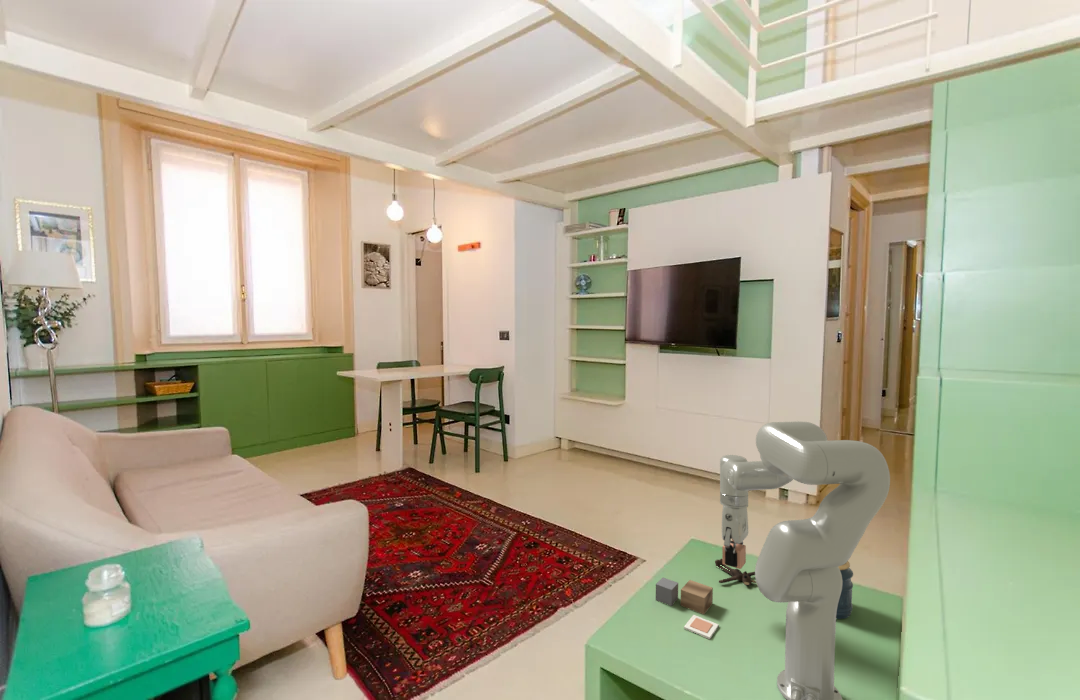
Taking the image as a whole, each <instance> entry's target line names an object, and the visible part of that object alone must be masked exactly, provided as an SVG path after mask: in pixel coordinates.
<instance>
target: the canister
mask: <svg viewBox="0 0 1080 700" xmlns="http://www.w3.org/2000/svg"><path fill="white" fill-rule="evenodd" d="M838 567H839V569H840V572H841V575H842V591H841V595H840V599H839V602H838V606H837V613H836V620H842V619H847V618H850V617H851V616H852V615H851V614H852V612H853V607H854V606H853V588H854V584H853V581H852V578H853V576H854V572H853V570H852V568H850V567H851V563H850V562H849V560H848V561H847V562H846V563H845V564H844V565H841V566H838Z"/></svg>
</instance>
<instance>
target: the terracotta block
mask: <svg viewBox="0 0 1080 700" xmlns="http://www.w3.org/2000/svg"><path fill="white" fill-rule="evenodd" d="M730 544H731V545H732V546H733V543H730ZM746 548H747V547H746V545H745V544H743V545H742V544H737V545H736V553H737V567H733V566H729V565H726V564H725V546H724V545H723V546H722V548H721V549H722V553H721V554H722V558H721V559H722V564H724V565H726V566H728V567H730V568H732V567H733V568H734V569H739V570H741V569H742V568H743V567H744V566H745V565H746V560H747V559H746V557H747V555H746V553H747V549H746Z"/></svg>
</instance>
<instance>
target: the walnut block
mask: <svg viewBox="0 0 1080 700" xmlns="http://www.w3.org/2000/svg"><path fill="white" fill-rule="evenodd" d="M713 588H714V587H712V586H709V585H706V584H703V583H700V582H697V581H696V580H695V581H694V580H691V579H688V581H687V582H686V583H685V584H684V586H683V587H682V588H680V606H681V607H683V608H686V609H688V608H689V610H691V611H693V610H694V612H697V613H700V614H702V615H706V613H707V612H708V610H709V609H710V608H711V607H712V605H713V604H712V603H714V602H713V600H714V599H713V595H714V592H713V591H714V589H713Z"/></svg>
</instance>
